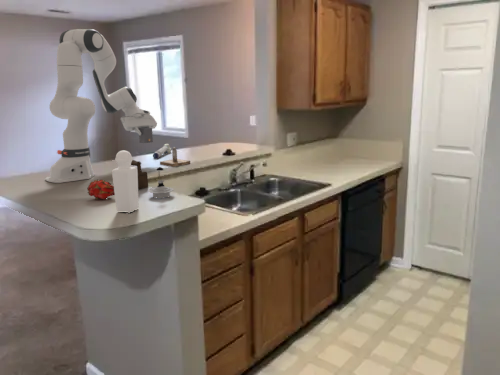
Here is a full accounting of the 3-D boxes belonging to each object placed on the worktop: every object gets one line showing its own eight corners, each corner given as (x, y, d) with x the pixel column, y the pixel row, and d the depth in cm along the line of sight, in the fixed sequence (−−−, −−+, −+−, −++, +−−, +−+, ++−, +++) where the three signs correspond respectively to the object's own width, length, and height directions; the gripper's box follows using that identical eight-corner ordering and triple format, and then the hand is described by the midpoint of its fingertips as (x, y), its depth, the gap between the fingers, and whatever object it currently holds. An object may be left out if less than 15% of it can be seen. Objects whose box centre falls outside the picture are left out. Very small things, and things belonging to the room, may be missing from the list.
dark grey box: (145, 143, 240) (144, 128, 238) (138, 142, 244) (137, 128, 242) (153, 142, 244) (152, 128, 242) (146, 141, 248) (145, 127, 246)
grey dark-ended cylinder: (151, 152, 265) (164, 141, 288) (152, 162, 267) (164, 151, 290) (159, 152, 264) (171, 141, 287) (160, 163, 267) (172, 151, 290)
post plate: (173, 166, 239) (172, 149, 236) (160, 164, 246) (159, 147, 244) (190, 163, 247) (189, 147, 245) (176, 161, 255) (175, 145, 253)
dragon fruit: (87, 201, 175) (116, 206, 174) (80, 194, 167) (111, 198, 167) (93, 182, 178) (122, 186, 178) (86, 174, 170) (117, 178, 170)
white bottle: (125, 208, 160) (120, 148, 155) (140, 209, 158) (136, 149, 153) (114, 213, 154) (109, 151, 148) (131, 214, 152) (126, 152, 147)
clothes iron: (131, 182, 202) (129, 153, 199) (149, 187, 191) (147, 157, 187) (115, 185, 196) (112, 156, 193) (133, 191, 185) (130, 160, 182)
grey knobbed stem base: (161, 163, 180) (141, 167, 172) (177, 166, 173) (157, 170, 166) (163, 192, 182) (143, 197, 175) (179, 196, 176) (159, 201, 169)
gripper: (120, 112, 237) (132, 131, 233) (151, 111, 252) (163, 129, 248) (116, 120, 241) (128, 139, 237) (147, 118, 256) (158, 136, 252)
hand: (146, 134), depth 243 cm, fingers closed on dark grey box, 5 cm apart
